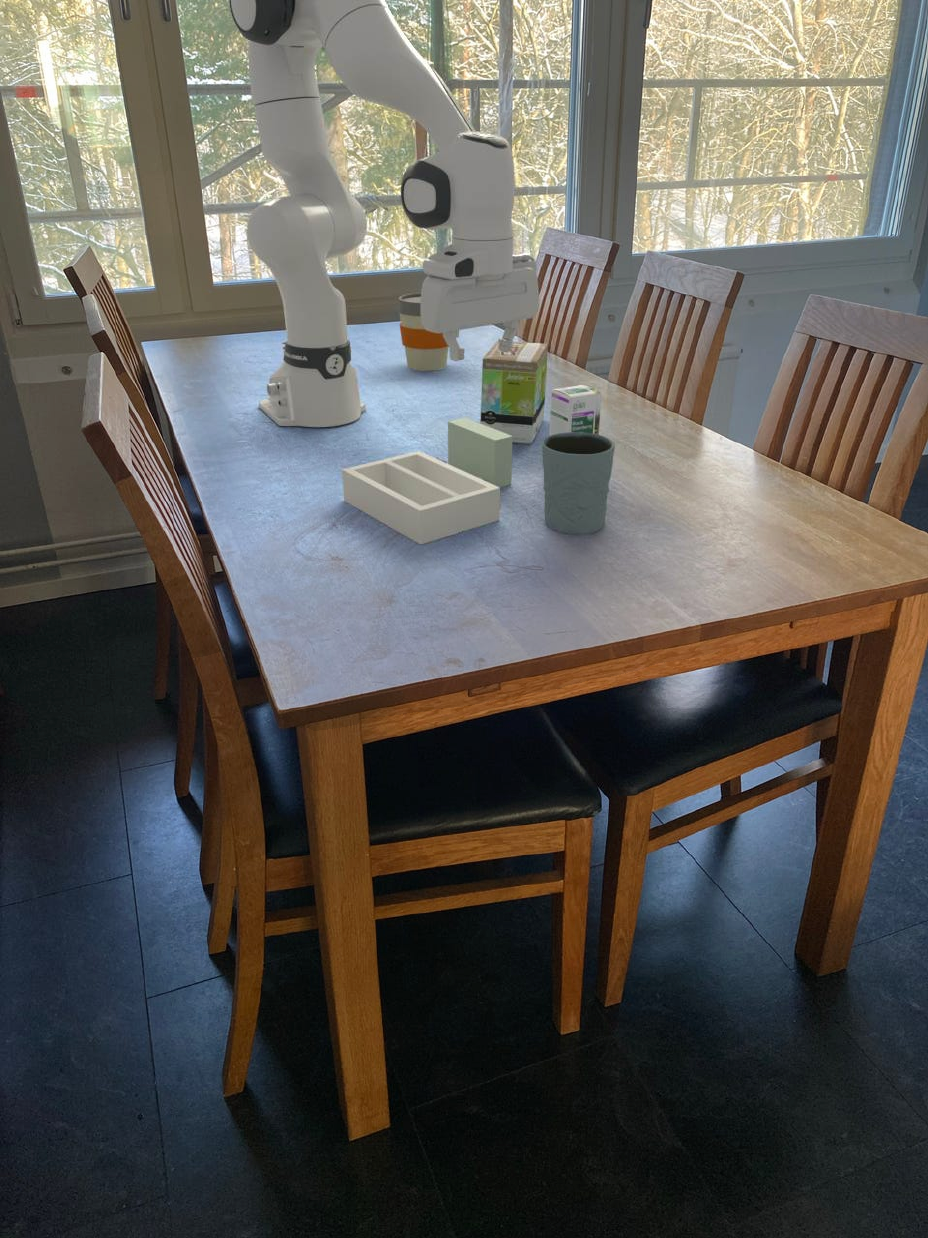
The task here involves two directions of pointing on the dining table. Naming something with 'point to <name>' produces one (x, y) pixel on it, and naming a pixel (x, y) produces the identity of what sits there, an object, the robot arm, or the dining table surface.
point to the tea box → (514, 390)
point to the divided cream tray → (421, 496)
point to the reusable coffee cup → (420, 337)
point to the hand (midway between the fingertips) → (481, 355)
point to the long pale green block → (480, 451)
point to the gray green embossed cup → (576, 481)
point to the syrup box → (575, 410)
